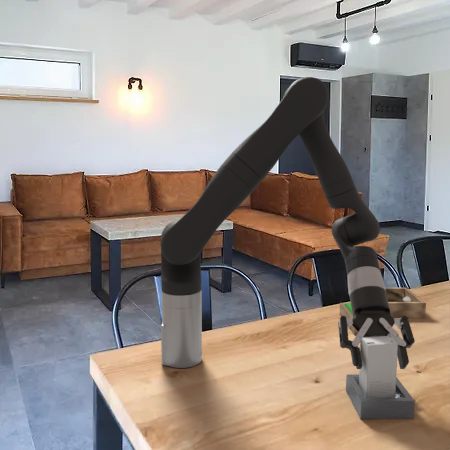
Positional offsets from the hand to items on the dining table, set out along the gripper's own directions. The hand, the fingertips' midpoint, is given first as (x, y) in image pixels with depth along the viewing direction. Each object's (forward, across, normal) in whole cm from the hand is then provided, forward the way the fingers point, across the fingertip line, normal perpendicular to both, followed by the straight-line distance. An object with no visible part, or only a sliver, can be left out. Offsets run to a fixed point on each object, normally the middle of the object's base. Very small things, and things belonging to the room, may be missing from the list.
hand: (381, 367), depth 99 cm
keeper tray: (+5, 0, +7) cm, 8 cm away
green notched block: (-27, +8, +39) cm, 48 cm away
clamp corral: (-27, +10, +38) cm, 48 cm away
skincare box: (+4, 0, +6) cm, 7 cm away
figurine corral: (-36, +23, +48) cm, 64 cm away
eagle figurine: (-35, +22, +47) cm, 63 cm away
